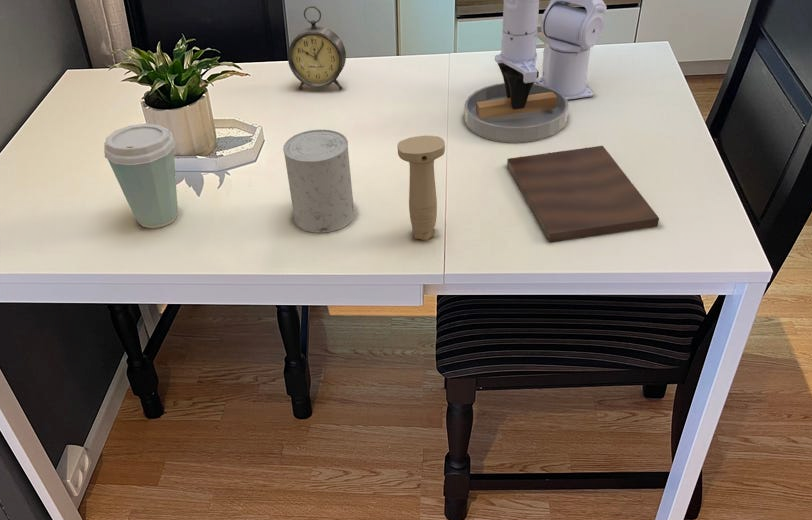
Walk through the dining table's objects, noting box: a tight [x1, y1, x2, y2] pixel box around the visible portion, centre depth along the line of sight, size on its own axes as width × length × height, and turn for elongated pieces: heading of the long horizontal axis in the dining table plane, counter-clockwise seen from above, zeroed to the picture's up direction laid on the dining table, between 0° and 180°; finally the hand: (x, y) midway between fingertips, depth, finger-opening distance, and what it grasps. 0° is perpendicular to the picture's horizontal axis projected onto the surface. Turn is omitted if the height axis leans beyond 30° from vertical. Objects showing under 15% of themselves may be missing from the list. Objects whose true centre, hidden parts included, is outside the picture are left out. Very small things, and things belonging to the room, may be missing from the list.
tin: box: [464, 82, 569, 144], centre depth 141 cm, size 18×18×3 cm
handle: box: [397, 135, 446, 242], centre depth 112 cm, size 5×6×15 cm
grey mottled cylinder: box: [282, 129, 356, 234], centre depth 119 cm, size 10×10×12 cm
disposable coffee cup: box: [103, 123, 179, 229], centre depth 122 cm, size 11×11×15 cm
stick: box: [476, 92, 557, 119], centre depth 140 cm, size 2×14×2 cm, turn 97°
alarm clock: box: [287, 5, 347, 90], centre depth 154 cm, size 11×5×16 cm, turn 77°
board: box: [506, 145, 660, 243], centre depth 121 cm, size 22×16×2 cm
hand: (516, 104), depth 140 cm, fingers closed on stick, 2 cm apart
